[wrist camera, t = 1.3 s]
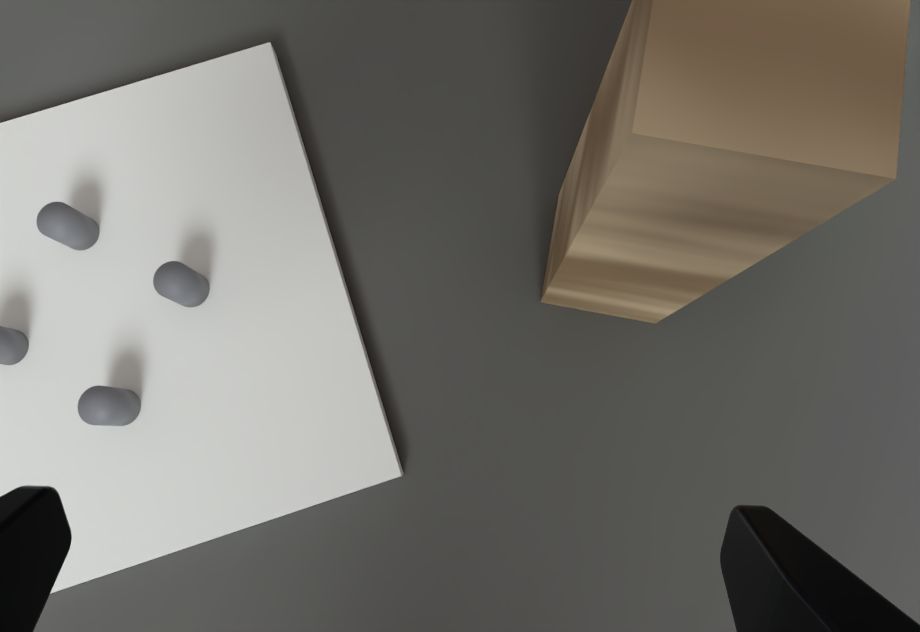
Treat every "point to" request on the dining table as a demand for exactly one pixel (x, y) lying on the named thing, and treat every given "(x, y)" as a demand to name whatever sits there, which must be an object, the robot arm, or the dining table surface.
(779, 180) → the bronze post
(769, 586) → the robot arm
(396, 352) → the dining table surface
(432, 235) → the dining table surface
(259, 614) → the dining table surface
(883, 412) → the dining table surface
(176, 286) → the peg board
